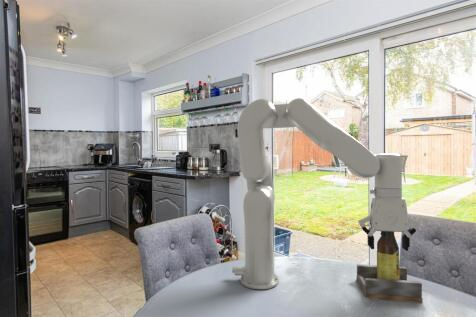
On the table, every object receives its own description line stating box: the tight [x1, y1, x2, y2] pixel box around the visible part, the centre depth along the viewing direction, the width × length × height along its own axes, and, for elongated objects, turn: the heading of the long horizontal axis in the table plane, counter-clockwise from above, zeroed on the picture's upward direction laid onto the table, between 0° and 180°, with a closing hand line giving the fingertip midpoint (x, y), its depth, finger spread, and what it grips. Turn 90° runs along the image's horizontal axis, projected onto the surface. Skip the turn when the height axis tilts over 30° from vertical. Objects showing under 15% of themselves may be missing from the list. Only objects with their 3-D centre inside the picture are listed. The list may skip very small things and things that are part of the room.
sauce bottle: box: [376, 231, 400, 280], centre depth 94 cm, size 6×6×20 cm
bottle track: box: [356, 264, 423, 303], centre depth 94 cm, size 15×14×5 cm
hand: (388, 248), depth 94 cm, fingers open, 9 cm apart
